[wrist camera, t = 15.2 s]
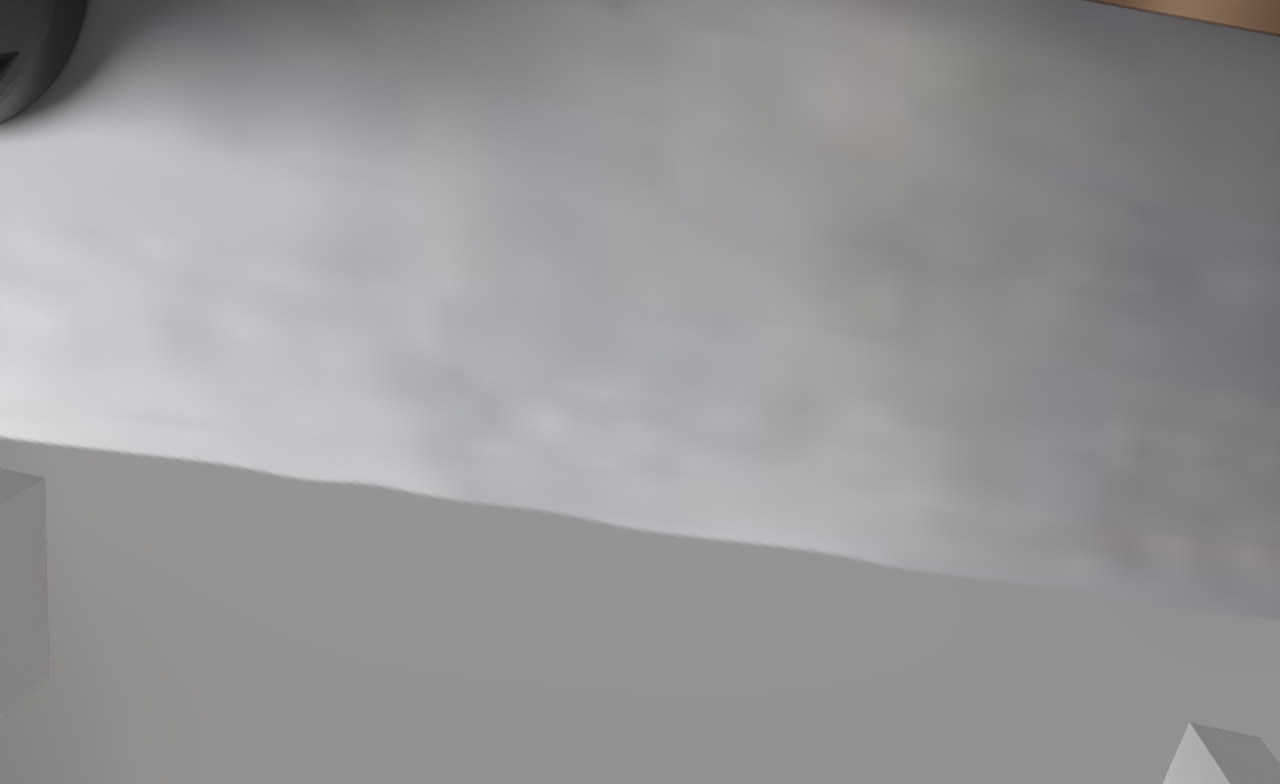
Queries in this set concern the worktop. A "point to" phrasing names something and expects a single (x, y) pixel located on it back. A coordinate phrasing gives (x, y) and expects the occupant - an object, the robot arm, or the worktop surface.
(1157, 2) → the socket board
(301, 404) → the worktop surface
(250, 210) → the worktop surface
